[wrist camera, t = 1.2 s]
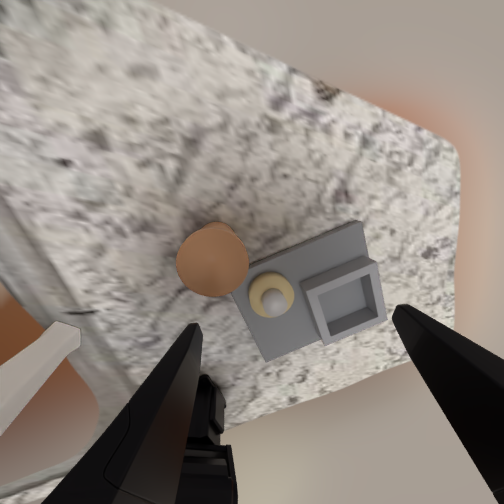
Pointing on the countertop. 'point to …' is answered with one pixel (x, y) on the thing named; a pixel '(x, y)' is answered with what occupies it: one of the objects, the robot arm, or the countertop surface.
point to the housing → (312, 293)
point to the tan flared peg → (212, 260)
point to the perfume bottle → (33, 369)
